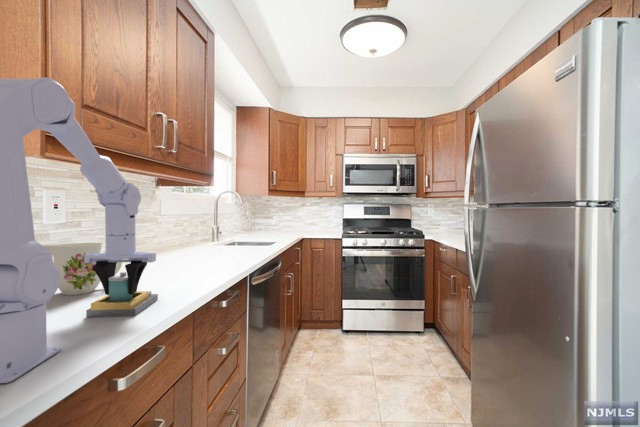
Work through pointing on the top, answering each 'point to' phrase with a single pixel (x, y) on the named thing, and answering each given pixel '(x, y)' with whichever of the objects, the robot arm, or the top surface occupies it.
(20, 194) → the robot arm
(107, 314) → the gray yellow rectangular tray
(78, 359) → the top surface
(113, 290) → the spout can
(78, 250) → the pitcher
